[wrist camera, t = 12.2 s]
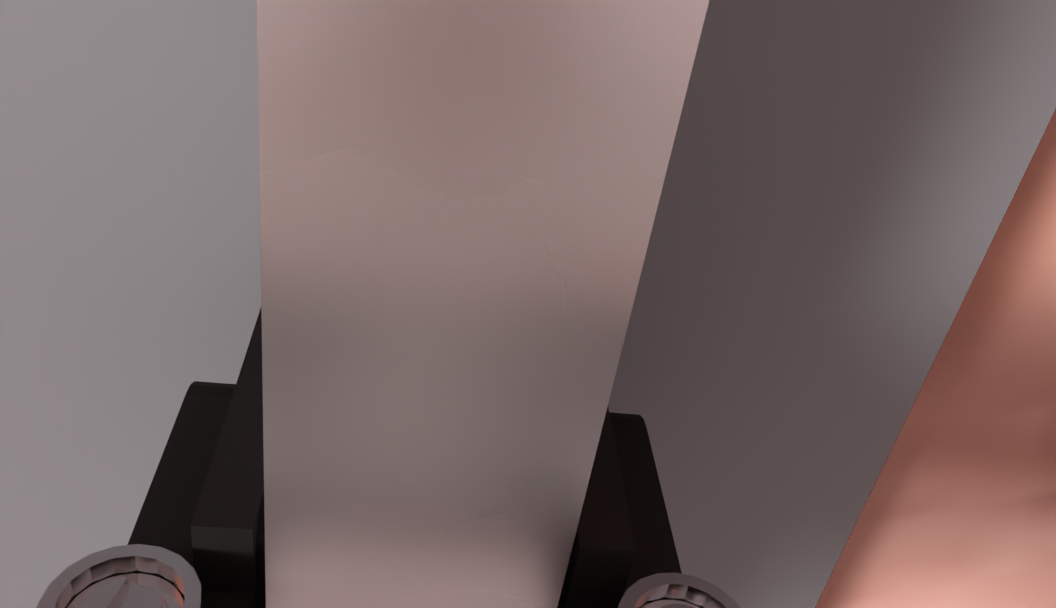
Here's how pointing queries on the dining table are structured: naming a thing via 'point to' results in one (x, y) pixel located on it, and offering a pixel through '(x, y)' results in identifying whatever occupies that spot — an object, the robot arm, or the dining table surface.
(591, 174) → the rail
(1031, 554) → the dining table surface
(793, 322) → the board
